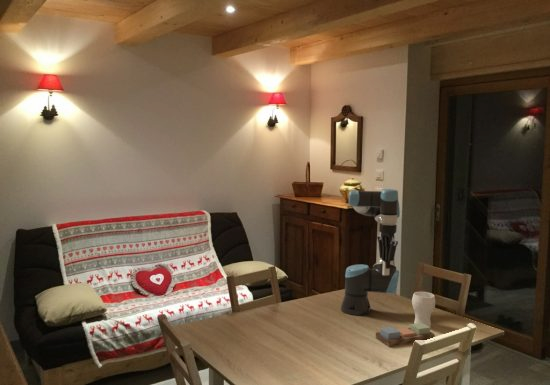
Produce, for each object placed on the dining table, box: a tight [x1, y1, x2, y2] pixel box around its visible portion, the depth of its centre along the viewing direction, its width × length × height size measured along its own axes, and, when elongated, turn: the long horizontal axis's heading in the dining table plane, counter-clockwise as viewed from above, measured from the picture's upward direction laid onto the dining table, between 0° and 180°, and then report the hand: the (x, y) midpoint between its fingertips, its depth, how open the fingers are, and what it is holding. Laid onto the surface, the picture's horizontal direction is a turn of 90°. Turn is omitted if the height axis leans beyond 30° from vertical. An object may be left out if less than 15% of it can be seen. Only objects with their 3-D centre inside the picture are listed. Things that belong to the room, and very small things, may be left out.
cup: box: [411, 291, 436, 328], centre depth 231 cm, size 11×11×15 cm
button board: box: [375, 327, 436, 348], centre depth 215 cm, size 24×10×2 cm, turn 111°
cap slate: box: [379, 326, 400, 340], centre depth 212 cm, size 6×6×3 cm
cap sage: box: [409, 323, 431, 335], centre depth 218 cm, size 6×6×3 cm
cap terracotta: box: [395, 327, 415, 337], centre depth 215 cm, size 6×6×3 cm
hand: (385, 274), depth 221 cm, fingers closed
